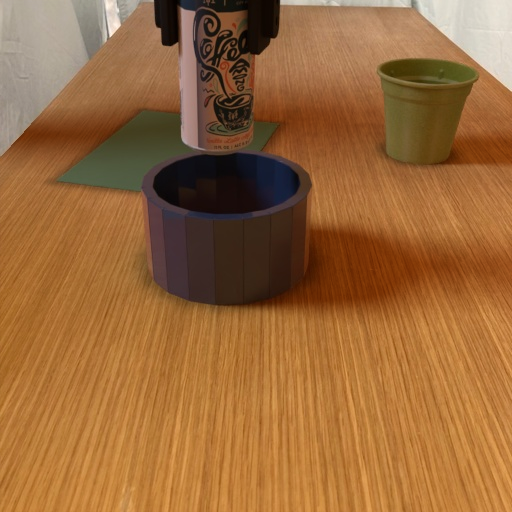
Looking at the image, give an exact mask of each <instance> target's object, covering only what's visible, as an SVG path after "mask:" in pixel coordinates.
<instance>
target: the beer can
mask: <svg viewBox="0 0 512 512" xmlns="http://www.w3.org/2000/svg"><path fill="white" fill-rule="evenodd" d="M177 21H178V43H177V47H178V79H179V80H178V81H179V107H180V108H179V109H180V111H179V112H180V114H181V138H182V141H183V142H184V143H185V144H186V145H187V146H189V147H190V148H192V149H194V150H196V151H198V152H200V153H204V154H209V155H227V154H232V153H235V152H238V151H240V150H241V149H243V148H245V147H247V146H248V145H249V144H250V143H251V142H252V140H253V121H254V119H255V118H254V116H255V115H254V114H255V113H254V112H255V76H256V75H255V74H256V73H255V71H256V55H252V54H250V52H248V51H247V21H248V0H177Z"/></svg>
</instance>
